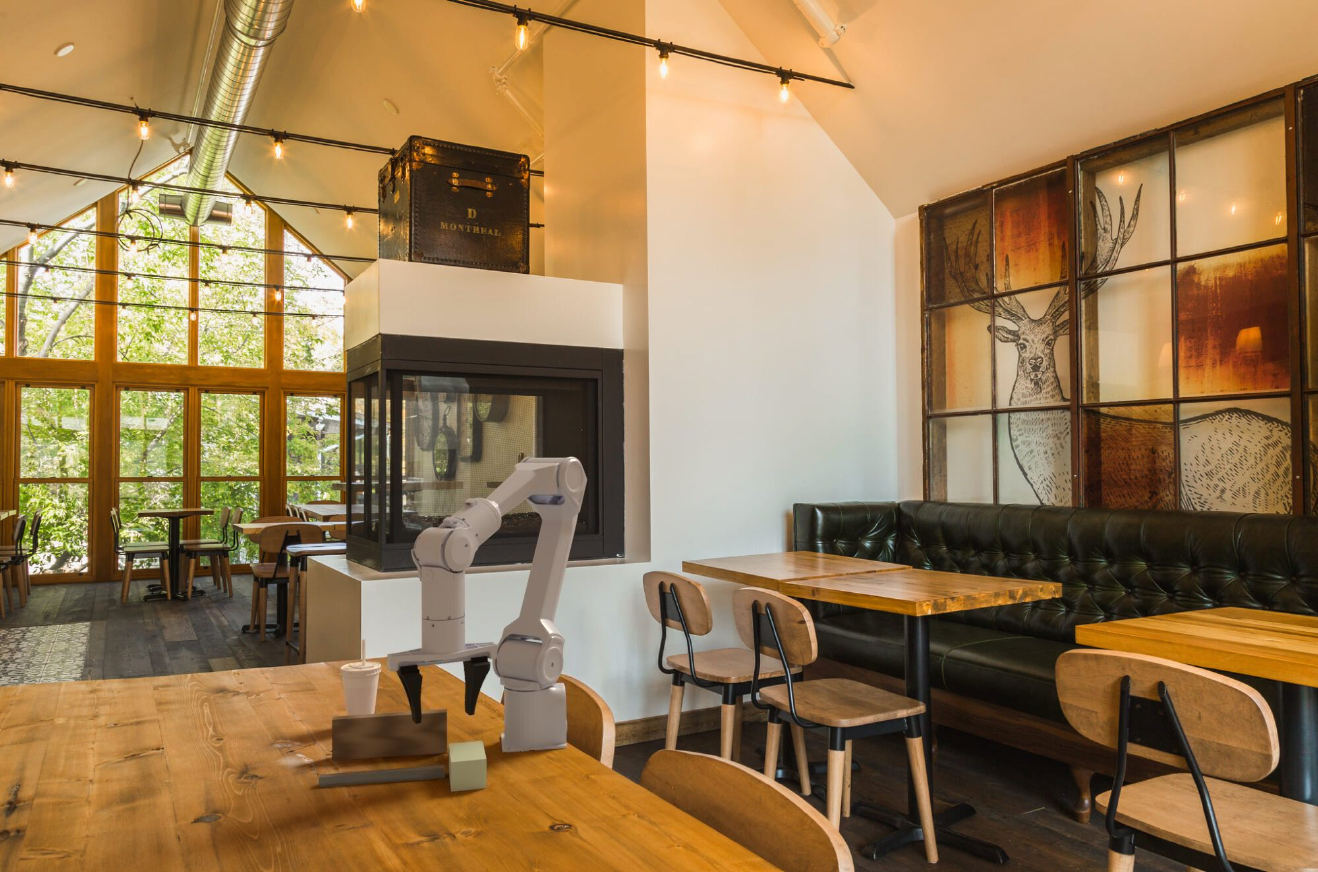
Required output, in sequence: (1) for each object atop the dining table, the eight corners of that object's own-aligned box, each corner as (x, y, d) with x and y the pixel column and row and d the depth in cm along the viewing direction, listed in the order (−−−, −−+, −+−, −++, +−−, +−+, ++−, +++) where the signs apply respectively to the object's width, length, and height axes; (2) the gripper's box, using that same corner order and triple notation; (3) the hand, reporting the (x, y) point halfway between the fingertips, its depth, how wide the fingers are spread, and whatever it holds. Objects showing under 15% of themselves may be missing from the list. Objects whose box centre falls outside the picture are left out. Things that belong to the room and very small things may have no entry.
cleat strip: (444, 777, 120) (444, 764, 120) (444, 781, 119) (444, 767, 119) (320, 788, 117) (320, 774, 117) (318, 791, 116) (318, 777, 116)
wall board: (447, 749, 131) (447, 709, 131) (446, 753, 130) (446, 712, 130) (333, 758, 128) (333, 716, 128) (332, 761, 126) (332, 719, 127)
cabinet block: (482, 773, 122) (482, 740, 122) (486, 793, 115) (486, 758, 115) (448, 776, 121) (448, 743, 121) (451, 797, 114) (451, 762, 114)
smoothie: (368, 733, 139) (368, 644, 139) (331, 731, 140) (331, 642, 141) (388, 721, 145) (388, 635, 146) (353, 719, 147) (353, 634, 147)
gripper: (486, 607, 127) (486, 702, 126) (382, 616, 119) (382, 717, 119) (502, 615, 120) (502, 715, 120) (393, 625, 113) (394, 732, 113)
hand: (443, 717), depth 119 cm, fingers open, 7 cm apart
